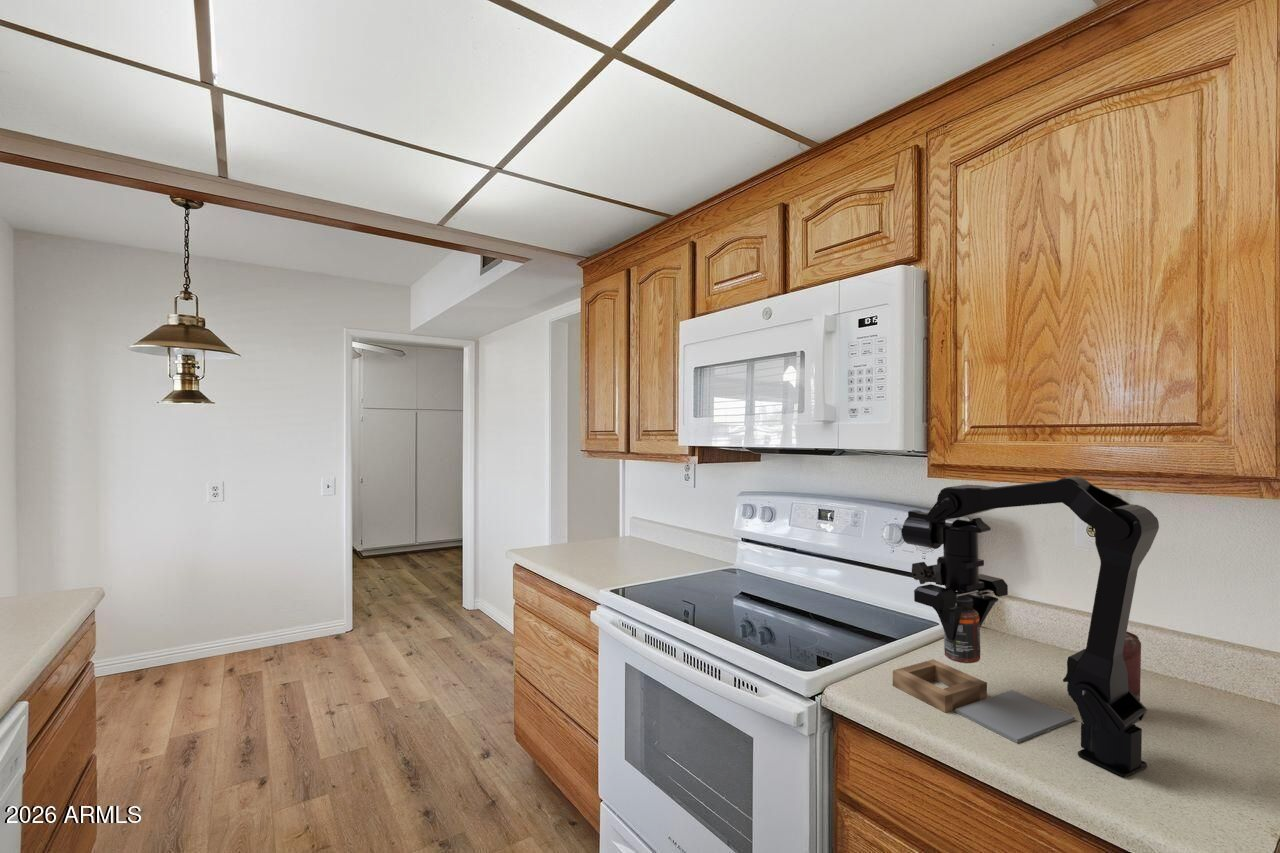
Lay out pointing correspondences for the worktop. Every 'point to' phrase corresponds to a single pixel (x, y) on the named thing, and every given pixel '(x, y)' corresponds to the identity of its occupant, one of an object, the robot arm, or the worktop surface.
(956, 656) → the supplement bottle
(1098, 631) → the robot arm
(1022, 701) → the grey rubber mat
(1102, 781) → the worktop surface
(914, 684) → the walnut holder
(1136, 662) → the can
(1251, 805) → the worktop surface
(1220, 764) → the worktop surface
